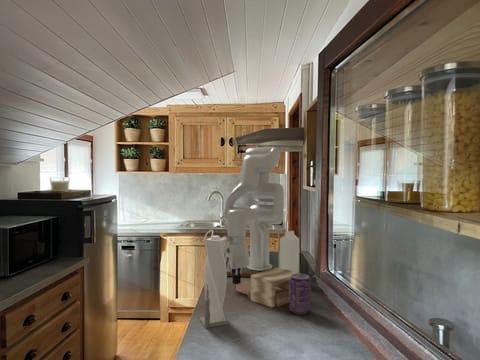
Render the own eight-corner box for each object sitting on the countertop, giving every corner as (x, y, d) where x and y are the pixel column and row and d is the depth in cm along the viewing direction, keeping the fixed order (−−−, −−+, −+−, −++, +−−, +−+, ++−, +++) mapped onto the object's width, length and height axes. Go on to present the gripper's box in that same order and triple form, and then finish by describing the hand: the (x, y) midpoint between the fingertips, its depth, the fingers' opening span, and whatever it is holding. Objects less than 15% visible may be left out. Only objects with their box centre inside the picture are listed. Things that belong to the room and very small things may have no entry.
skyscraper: (198, 317, 109) (198, 230, 109) (222, 313, 112) (222, 228, 112) (205, 328, 102) (205, 234, 101) (230, 323, 105) (231, 232, 105)
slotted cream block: (245, 298, 127) (245, 273, 127) (271, 288, 138) (271, 266, 138) (274, 308, 117) (274, 281, 117) (300, 297, 128) (300, 272, 128)
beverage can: (297, 306, 119) (297, 271, 119) (315, 311, 114) (315, 276, 114) (285, 311, 114) (285, 275, 114) (302, 317, 109) (302, 280, 109)
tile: (236, 291, 136) (236, 284, 136) (248, 288, 141) (248, 280, 141) (266, 302, 124) (266, 294, 124) (278, 297, 129) (278, 289, 129)
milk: (299, 282, 147) (299, 231, 147) (290, 285, 143) (291, 232, 142) (288, 279, 151) (288, 229, 151) (279, 282, 147) (279, 231, 147)
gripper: (229, 243, 133) (229, 290, 133) (255, 238, 144) (255, 281, 144) (217, 240, 138) (216, 285, 138) (242, 236, 149) (242, 278, 149)
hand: (236, 283), depth 141 cm, fingers closed
